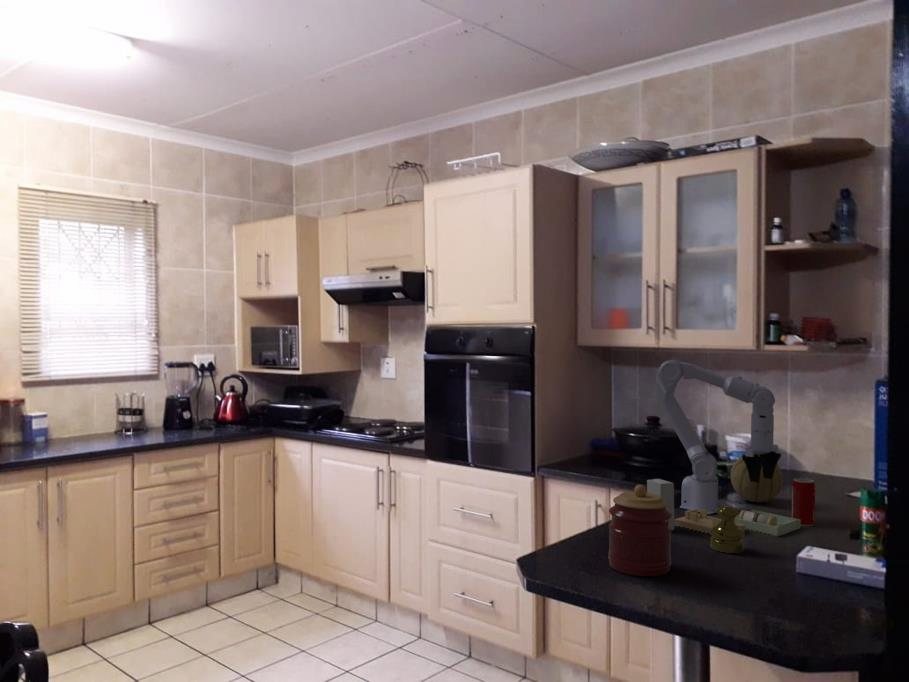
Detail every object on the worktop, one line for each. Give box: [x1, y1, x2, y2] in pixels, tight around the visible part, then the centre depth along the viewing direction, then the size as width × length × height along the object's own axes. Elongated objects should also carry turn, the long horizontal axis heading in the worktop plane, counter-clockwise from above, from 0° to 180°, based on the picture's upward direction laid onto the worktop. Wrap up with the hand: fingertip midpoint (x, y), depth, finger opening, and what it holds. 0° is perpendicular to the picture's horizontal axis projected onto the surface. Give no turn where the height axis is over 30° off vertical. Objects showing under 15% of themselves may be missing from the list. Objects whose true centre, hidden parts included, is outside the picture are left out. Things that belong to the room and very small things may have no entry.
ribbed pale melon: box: [730, 455, 784, 503], centre depth 208 cm, size 15×15×15 cm
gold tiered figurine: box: [709, 505, 745, 554], centre depth 161 cm, size 7×7×10 cm
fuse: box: [739, 509, 778, 526], centre depth 178 cm, size 8×4×4 cm
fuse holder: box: [674, 508, 746, 535], centre depth 179 cm, size 14×10×4 cm
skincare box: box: [646, 478, 675, 531], centre depth 178 cm, size 6×4×12 cm
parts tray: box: [735, 509, 801, 537], centre depth 181 cm, size 13×13×2 cm
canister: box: [607, 484, 673, 577], centre depth 148 cm, size 13×13×18 cm
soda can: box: [791, 477, 816, 527], centre depth 184 cm, size 6×6×12 cm
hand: (761, 480), depth 192 cm, fingers open, 7 cm apart
